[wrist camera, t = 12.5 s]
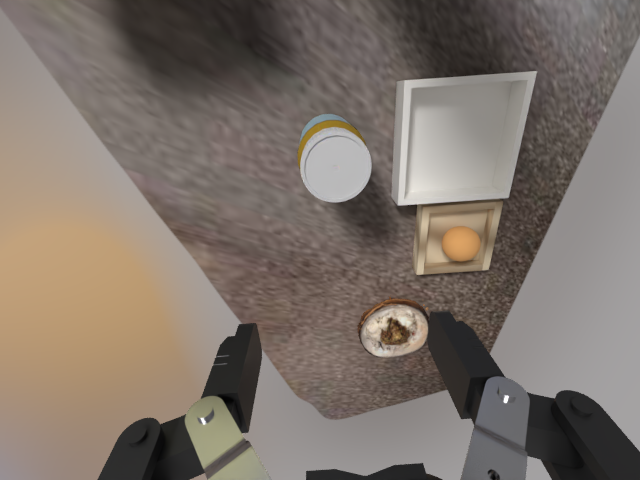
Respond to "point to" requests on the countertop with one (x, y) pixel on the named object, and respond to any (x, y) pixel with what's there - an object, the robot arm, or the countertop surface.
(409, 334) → the sushi roll
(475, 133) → the dish
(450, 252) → the ball
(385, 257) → the countertop surface
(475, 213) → the tray
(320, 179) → the bottle
